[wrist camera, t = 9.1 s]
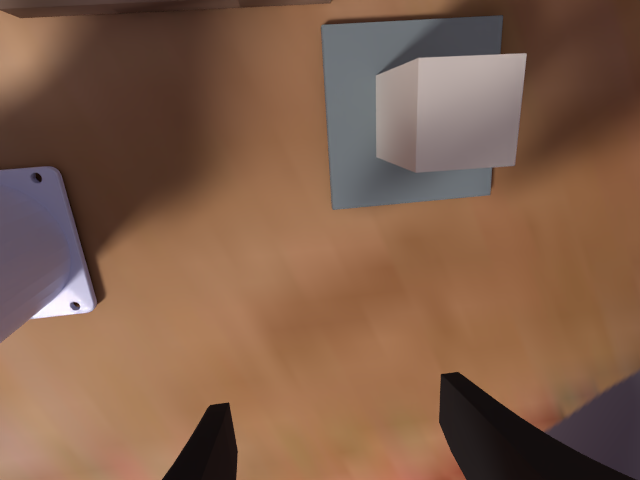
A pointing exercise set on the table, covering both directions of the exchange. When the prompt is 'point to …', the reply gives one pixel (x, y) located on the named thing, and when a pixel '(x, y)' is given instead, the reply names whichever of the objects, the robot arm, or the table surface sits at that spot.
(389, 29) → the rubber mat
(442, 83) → the cream block
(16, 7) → the puzzle board
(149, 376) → the table surface
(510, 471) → the robot arm
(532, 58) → the table surface
